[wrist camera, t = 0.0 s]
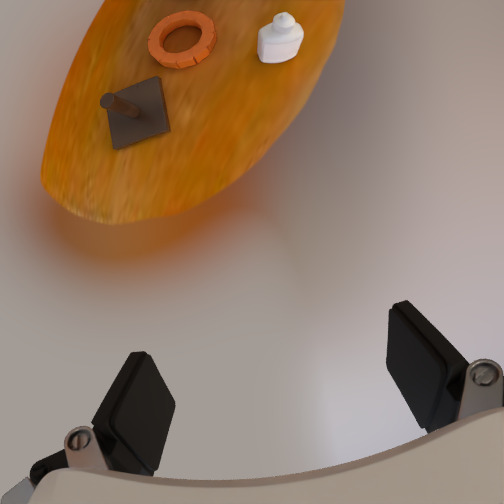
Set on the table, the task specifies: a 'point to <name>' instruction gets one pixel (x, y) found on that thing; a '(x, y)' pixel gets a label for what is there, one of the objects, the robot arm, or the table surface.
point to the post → (136, 113)
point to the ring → (185, 57)
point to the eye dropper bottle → (279, 39)
